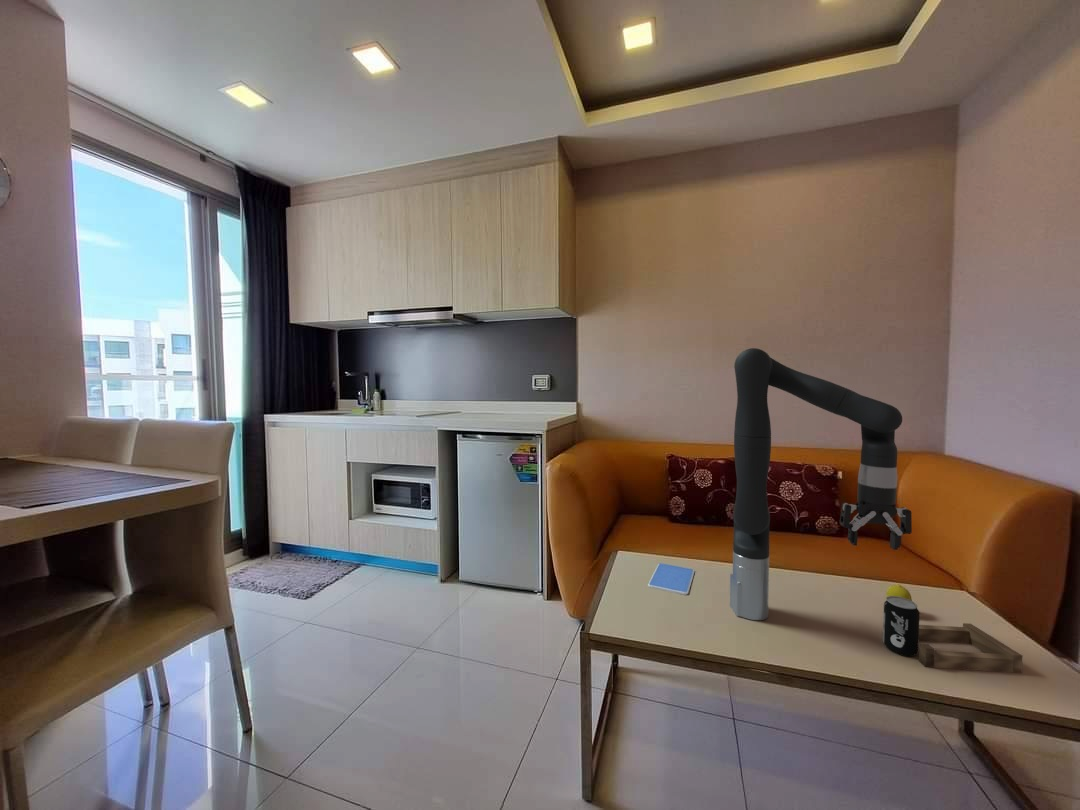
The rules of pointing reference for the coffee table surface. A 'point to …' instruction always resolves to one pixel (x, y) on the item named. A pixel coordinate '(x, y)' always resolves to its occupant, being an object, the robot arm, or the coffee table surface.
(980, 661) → the cradle
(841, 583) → the coffee table surface
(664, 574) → the tablet computer
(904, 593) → the lemon
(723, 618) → the coffee table surface
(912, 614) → the beverage can
